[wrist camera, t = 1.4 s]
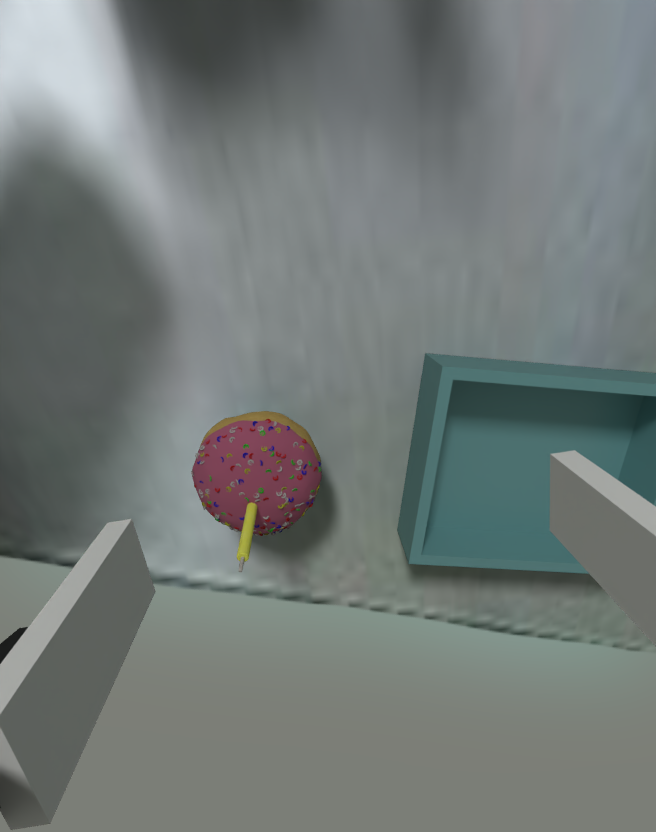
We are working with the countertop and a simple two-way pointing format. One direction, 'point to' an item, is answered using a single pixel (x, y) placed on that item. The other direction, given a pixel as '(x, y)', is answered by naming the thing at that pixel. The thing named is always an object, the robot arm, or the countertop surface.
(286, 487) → the cupcake
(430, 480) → the tub
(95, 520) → the countertop surface
